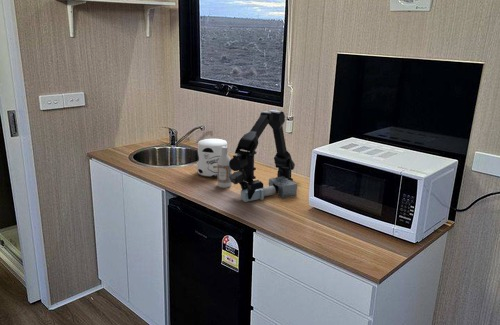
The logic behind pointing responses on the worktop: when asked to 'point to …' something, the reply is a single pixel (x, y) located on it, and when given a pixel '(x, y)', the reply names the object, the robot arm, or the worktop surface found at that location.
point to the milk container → (209, 156)
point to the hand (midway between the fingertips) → (247, 197)
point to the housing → (284, 187)
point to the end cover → (258, 193)
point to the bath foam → (224, 169)
